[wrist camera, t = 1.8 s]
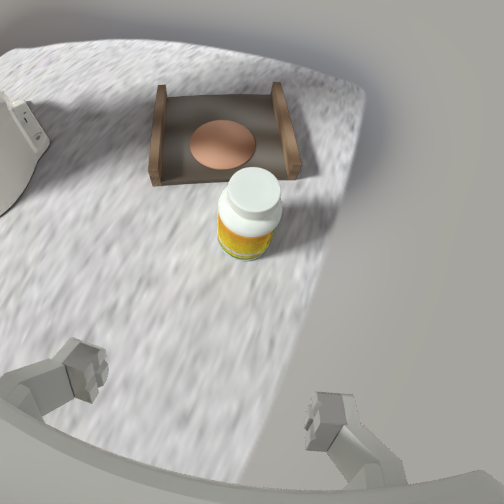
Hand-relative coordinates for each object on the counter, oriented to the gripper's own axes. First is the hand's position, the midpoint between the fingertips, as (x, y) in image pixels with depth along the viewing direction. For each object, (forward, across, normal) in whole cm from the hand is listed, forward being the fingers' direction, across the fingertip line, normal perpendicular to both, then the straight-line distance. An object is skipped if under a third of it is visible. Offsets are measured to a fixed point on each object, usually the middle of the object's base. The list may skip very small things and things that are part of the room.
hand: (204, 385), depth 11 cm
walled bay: (+30, +6, -8) cm, 32 cm away
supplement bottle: (+22, +1, +2) cm, 22 cm away
